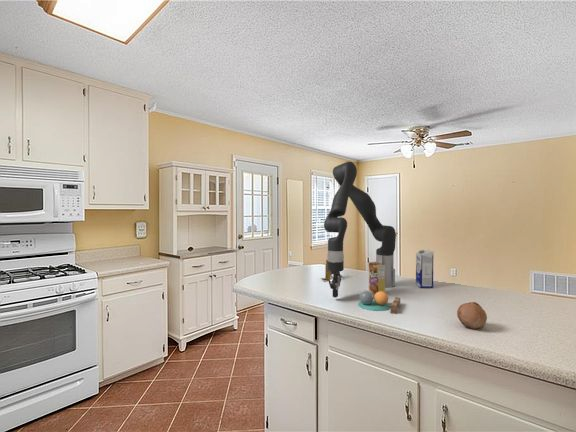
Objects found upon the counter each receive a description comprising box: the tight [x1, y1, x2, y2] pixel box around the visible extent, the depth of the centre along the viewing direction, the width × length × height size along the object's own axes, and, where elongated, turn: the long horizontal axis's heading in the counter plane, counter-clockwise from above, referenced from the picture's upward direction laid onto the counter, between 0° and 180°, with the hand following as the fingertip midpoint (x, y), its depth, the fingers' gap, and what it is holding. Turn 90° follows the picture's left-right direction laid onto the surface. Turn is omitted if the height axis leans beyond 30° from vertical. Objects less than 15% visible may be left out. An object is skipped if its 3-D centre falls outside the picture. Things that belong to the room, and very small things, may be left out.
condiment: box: [320, 259, 331, 282], centre depth 191 cm, size 7×8×12 cm
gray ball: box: [359, 290, 374, 305], centre depth 143 cm, size 6×6×6 cm
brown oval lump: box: [456, 301, 488, 330], centre depth 116 cm, size 10×9×10 cm
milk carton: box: [415, 249, 435, 289], centre depth 175 cm, size 7×7×20 cm
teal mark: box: [357, 300, 391, 312], centre depth 142 cm, size 14×14×1 cm
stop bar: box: [390, 296, 401, 315], centre depth 138 cm, size 14×2×3 cm, turn 153°
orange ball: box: [373, 291, 389, 305], centre depth 142 cm, size 6×6×6 cm
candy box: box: [368, 261, 386, 295], centre depth 161 cm, size 9×4×15 cm, turn 17°
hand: (335, 297), depth 150 cm, fingers closed
